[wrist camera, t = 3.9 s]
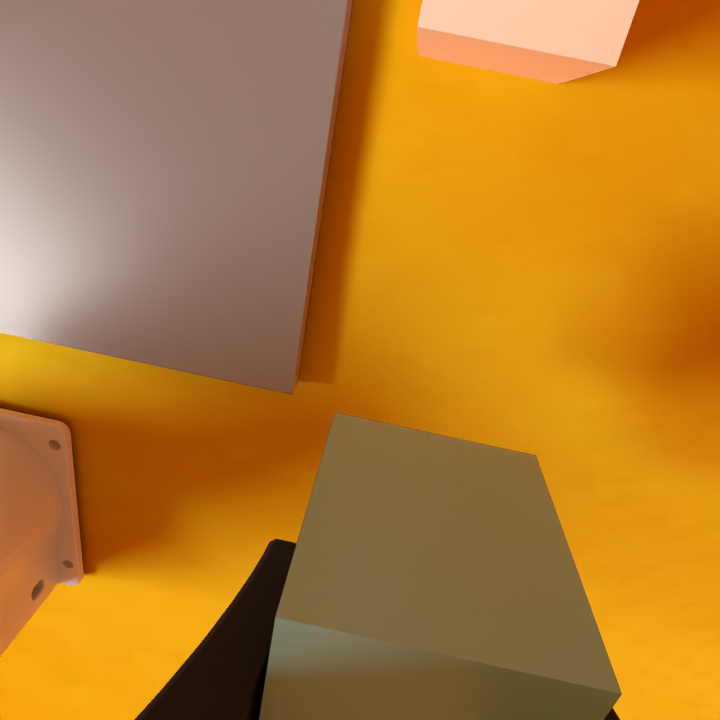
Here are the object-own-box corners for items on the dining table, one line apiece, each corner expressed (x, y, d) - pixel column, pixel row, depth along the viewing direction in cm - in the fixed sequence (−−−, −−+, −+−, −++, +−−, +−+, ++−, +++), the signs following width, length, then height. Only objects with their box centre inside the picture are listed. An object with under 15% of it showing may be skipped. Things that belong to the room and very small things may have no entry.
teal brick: (454, 648, 12) (472, 906, 8) (296, 613, 12) (237, 852, 8) (535, 455, 10) (621, 693, 6) (334, 412, 10) (275, 617, 6)
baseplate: (297, 381, 19) (291, 394, 18) (-62, 305, 19) (-86, 314, 18) (423, -486, 10) (424, -546, 9) (-252, -610, 10) (-318, -682, 9)
